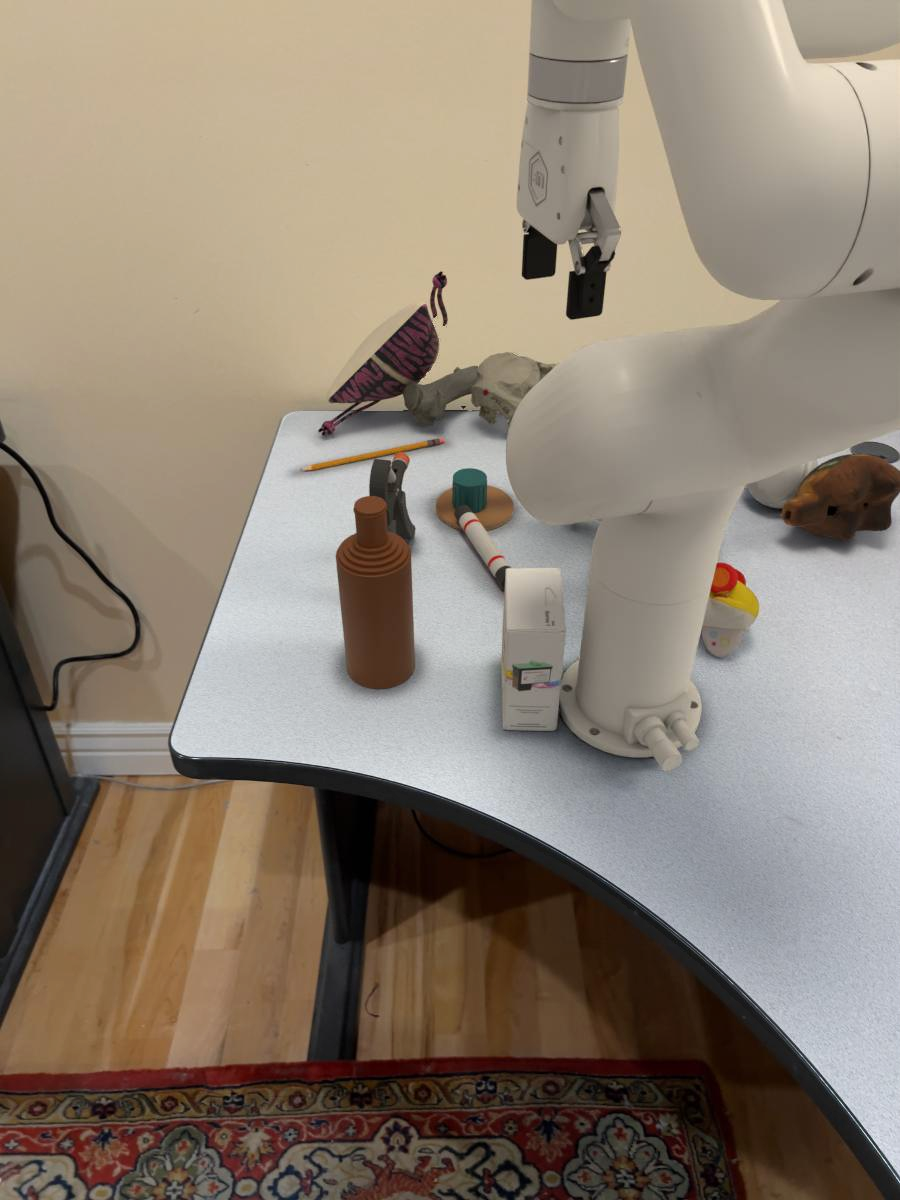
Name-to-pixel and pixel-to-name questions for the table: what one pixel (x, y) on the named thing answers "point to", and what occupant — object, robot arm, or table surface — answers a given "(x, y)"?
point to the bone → (438, 394)
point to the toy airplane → (728, 611)
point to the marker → (482, 543)
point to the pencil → (375, 454)
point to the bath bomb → (780, 485)
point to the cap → (469, 489)
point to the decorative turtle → (845, 497)
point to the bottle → (376, 599)
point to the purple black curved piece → (389, 358)
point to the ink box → (532, 648)
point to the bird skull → (505, 384)
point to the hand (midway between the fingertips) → (560, 296)
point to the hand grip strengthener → (392, 493)
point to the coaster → (489, 517)
